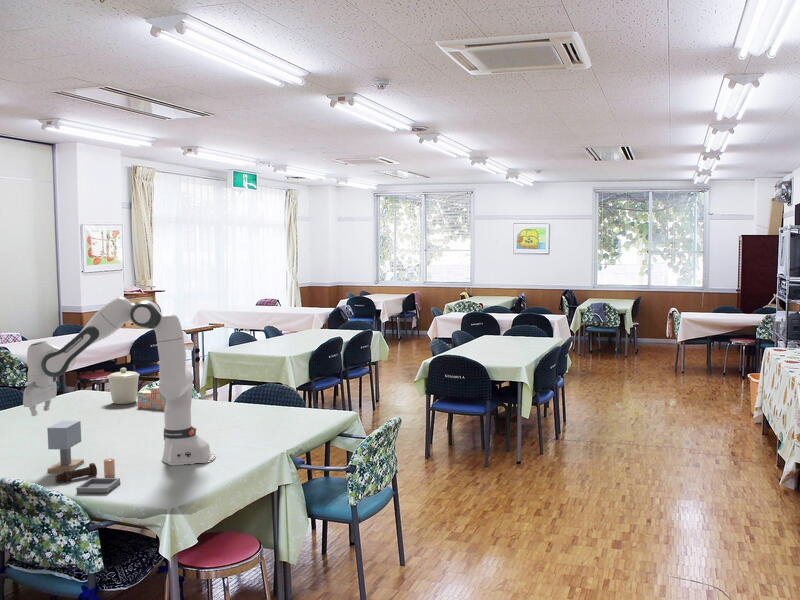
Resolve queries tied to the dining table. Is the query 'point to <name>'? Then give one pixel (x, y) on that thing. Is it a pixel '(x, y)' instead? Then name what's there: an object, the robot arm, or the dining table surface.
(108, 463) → the peach rounded cylinder
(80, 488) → the parts tray
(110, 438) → the dining table surface
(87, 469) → the bolt
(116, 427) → the dining table surface
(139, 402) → the stack of blocks
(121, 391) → the canister
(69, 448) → the mounted unit
